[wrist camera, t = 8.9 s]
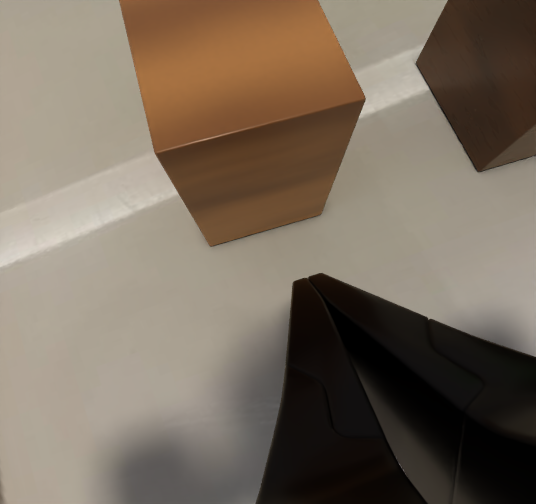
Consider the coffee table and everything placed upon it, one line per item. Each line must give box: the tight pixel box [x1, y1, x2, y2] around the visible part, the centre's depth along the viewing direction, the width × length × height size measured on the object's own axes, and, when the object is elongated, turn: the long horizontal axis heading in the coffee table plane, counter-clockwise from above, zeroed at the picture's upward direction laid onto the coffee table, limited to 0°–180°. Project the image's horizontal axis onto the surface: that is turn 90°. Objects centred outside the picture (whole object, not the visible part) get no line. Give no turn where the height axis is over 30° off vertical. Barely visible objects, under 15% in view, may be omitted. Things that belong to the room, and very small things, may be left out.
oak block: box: [119, 0, 366, 246], centre depth 13 cm, size 8×6×8 cm
